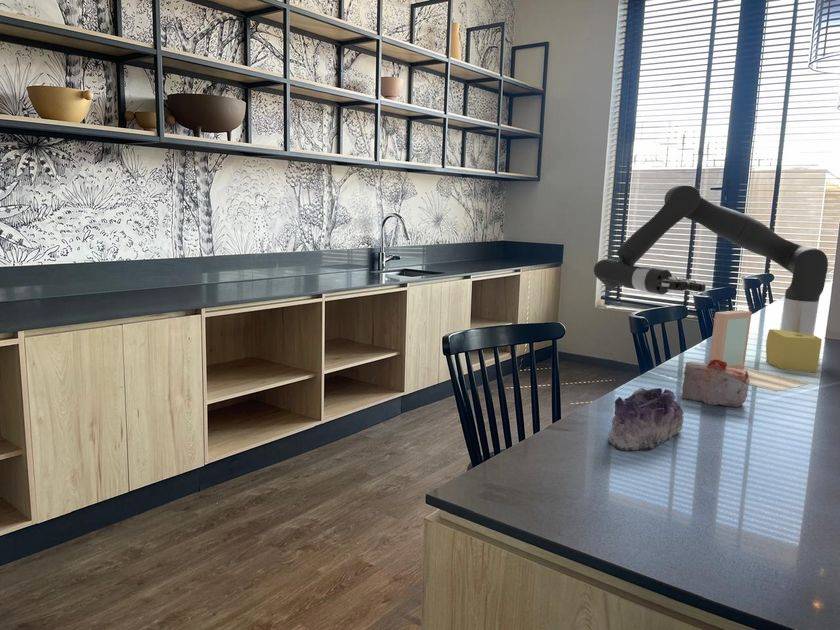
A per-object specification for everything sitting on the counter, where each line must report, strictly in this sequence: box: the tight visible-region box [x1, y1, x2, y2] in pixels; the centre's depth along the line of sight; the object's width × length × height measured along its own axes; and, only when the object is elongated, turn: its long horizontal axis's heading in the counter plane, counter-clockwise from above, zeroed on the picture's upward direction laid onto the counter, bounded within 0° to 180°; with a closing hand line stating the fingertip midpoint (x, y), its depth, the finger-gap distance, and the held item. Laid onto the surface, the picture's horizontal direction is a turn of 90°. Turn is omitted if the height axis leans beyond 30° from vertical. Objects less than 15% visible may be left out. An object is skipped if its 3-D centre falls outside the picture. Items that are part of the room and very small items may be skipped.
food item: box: [681, 359, 750, 408], centre depth 145 cm, size 14×8×10 cm, turn 62°
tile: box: [708, 309, 753, 369], centre depth 173 cm, size 12×3×16 cm, turn 123°
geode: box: [607, 387, 685, 453], centre depth 120 cm, size 20×12×10 cm, turn 142°
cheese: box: [765, 329, 822, 373], centre depth 181 cm, size 10×11×10 cm
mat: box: [741, 366, 810, 393], centre depth 169 cm, size 16×23×1 cm
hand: (703, 288), depth 178 cm, fingers closed
